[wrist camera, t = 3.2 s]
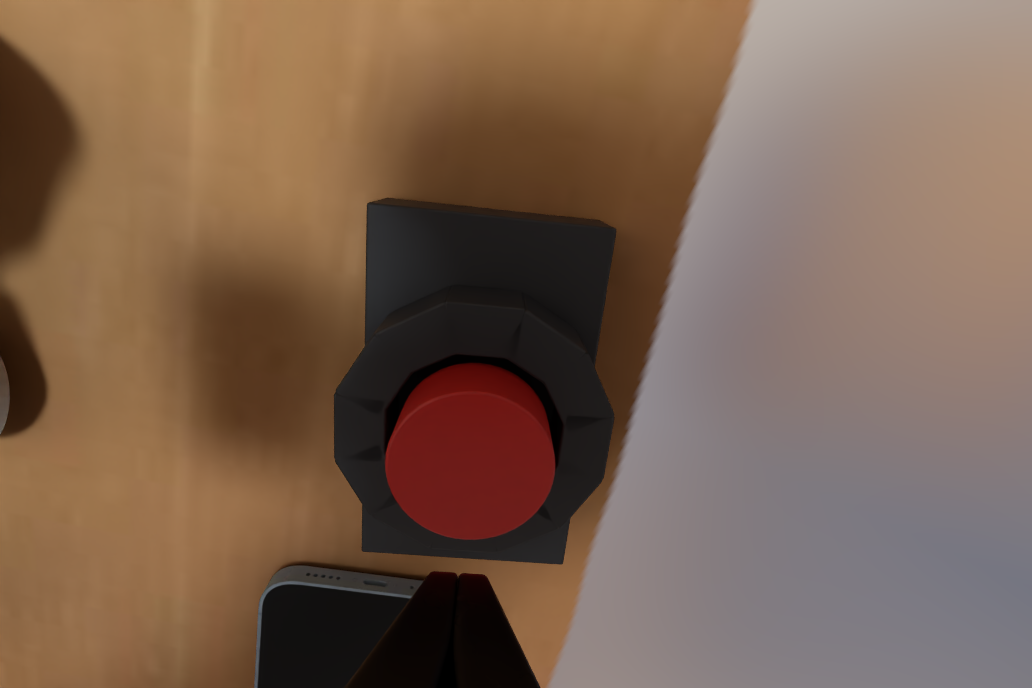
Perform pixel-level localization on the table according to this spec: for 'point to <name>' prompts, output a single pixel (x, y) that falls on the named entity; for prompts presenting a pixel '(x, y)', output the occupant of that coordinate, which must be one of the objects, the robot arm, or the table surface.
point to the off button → (471, 452)
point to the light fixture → (3, 395)
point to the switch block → (478, 354)
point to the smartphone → (323, 624)
